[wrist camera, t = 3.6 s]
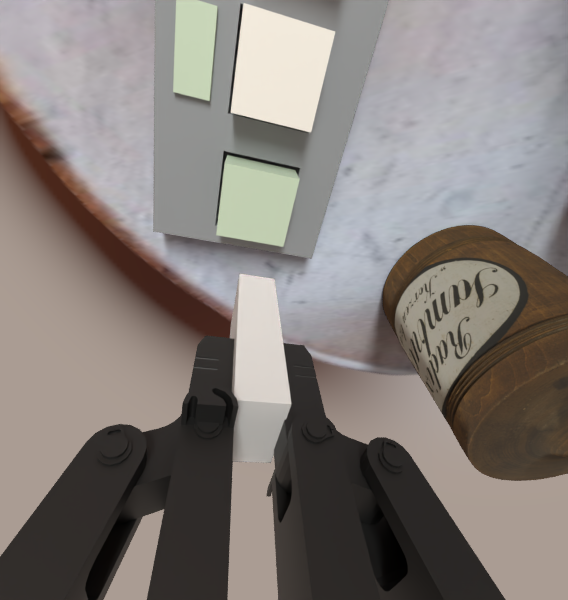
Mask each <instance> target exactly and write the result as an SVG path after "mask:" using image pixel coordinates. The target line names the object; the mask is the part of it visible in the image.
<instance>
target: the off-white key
mask: <svg viewBox="0 0 568 600" xmlns="http://www.w3.org/2000/svg"><path fill="white" fill-rule="evenodd" d="M334 36H335V31H332V30H329V29H325V28H322V27H319V26H316V25H313V24H309V23H306V22H303V21H300V20H297V19H294V18H290V17H287V16H284V15H281V14H278V13H274V12H271V11H268V10H265V9H262V8H259V7H255V6H252V5H249V4H246V3H244V4H243V12H242V20H241V29H240V37H239V46H238V54H237V63H236V71H235V80H234V88H233V97H232V105H231V113H234V114H238V115H242V116H246V117H250V118H254V119H258V120H262V121H266V122H270V123H274V124H278V125H283V126H287V127H291V128H295V129H299V130H303V131H307V132H311V131H312V127H313V122H314V118H315V114H316V110H317V106H318V102H319V98H320V93H321V89H322V85H323V81H324V77H325V73H326V69H327V65H328V60H329V56H330V52H331V48H332V44H333V40H334Z"/></svg>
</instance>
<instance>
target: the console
mask: <svg viewBox="0 0 568 600" xmlns="http://www.w3.org/2000/svg"><path fill="white" fill-rule="evenodd" d="M388 1H389V0H155V62H154V215H153V232H159V233H164V234H170V235H176V236H182V237H188V238H194V239H200V240H205V241H211V242H217V243H223V244H229V245H235V246H240V247H246V248H252V249H258V250H264V251H270V252H276V253H281V254H287V255H293V256H299V257H305V258H312V255H313V252H314V248H315V245H316V242H317V238H318V235H319V232H320V228H321V225H322V222H323V218H324V215H325V212H326V208H327V205H328V202H329V198H330V195H331V192H332V188H333V185H334V182H335V178H336V175H337V172H338V168H339V165H340V162H341V158H342V155H343V152H344V148H345V145H346V142H347V138H348V135H349V132H350V128H351V125H352V122H353V118H354V115H355V112H356V108H357V105H358V102H359V98H360V95H361V92H362V88H363V85H364V82H365V78H366V75H367V72H368V68H369V65H370V62H371V58H372V55H373V52H374V48H375V45H376V41H377V38H378V35H379V31H380V28H381V25H382V21H383V18H384V15H385V11H386V8H387V5H388ZM244 3H246V4H249V5H252V6H255V7H259V8H262V9H265V10H268V11H271V12H274V13H278V14H281V15H284V16H287V17H290V18H294V19H297V20H300V21H303V22H306V23H309V24H313V25H316V26H319V27H322V28H325V29H329V30H332V31H335V36H334V40H333V44H332V48H331V52H330V56H329V60H328V65H327V69H326V73H325V77H324V81H323V85H322V89H321V93H320V98H319V102H318V106H317V110H316V114H315V118H314V122H313V127H312V131H311V132H307V131H303V130H299V129H295V128H291V127H287V126H283V125H278V124H274V123H270V122H266V121H262V120H258V119H254V118H250V117H246V116H242V115H238V114H234V113H231V105H232V97H233V88H234V80H235V71H236V63H237V54H238V46H239V37H240V29H241V20H242V12H243V4H244ZM227 155H230V156H235V157H239V158H244V159H248V160H253V161H257V162H261V163H266V164H270V165H275V166H279V167H284V168H288V169H293V170H295V171H296V173H297V175H298V177H299V179H300V180H299V184H298V188H297V193H296V197H295V201H294V205H293V209H292V213H291V217H290V221H289V226H288V230H287V234H286V238H285V242H284V246H283V247H281V246H276V245H270V244H264V243H259V242H253V241H247V240H242V239H236V238H230V237H224V236H219V235H216V232H217V224H218V215H219V207H220V198H221V190H222V182H223V173H224V165H225V161H226V158H227Z"/></svg>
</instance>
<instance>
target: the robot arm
mask: <svg viewBox="0 0 568 600" xmlns="http://www.w3.org/2000/svg"><path fill="white" fill-rule="evenodd" d="M273 455H274V458H275V470H274V473H273V476H272V478H271V481H270V484H269V486H268V490H267V496H271V493H272V496H273V513H274V531H275V548H276V566H277V583H278V600H505V598H504V597H503V595H502V594H501V592H500V591H499V589H498V588H497V586H496V585H495V583H494V582H493V580H492V579H491V577H490V576H489V574H488V573H487V571H486V570H485V568H484V566H483V565H482V563H481V562H480V561H479V559H478V557H477V556H476V554H475V553H474V551H473V550H472V548H471V547H470V545H469V544H468V542H467V541H466V539H465V538H464V536H463V535H462V533H461V532H460V530H459V529H458V527H457V526H456V524H455V522H454V521H453V519H452V518H451V516H450V515H449V513H448V512H447V510H446V509H445V507H444V506H443V504H442V503H441V501H440V500H439V498H438V497H437V495H436V494H435V493H434V491H433V489H432V488H431V486H430V485H429V483H428V482H427V480H426V479H425V477H424V476H423V474H422V472H421V471H420V470H419V468H418V466H417V465H416V463H415V462H414V461H413V459H412V457H411V456H410V454H409V453H408V452H407V451H406V450H405V449H404V448H403V447H402V446H401V445H400V444H398V443H397V442H395V441H393V440H391V439H388V438H375V439H373V440H371V441H370V443H369V445H367V444H364V443H362V442H359V441H356V440H354V439H351V438H348V437H346V436H344V435H342V434H341V433H339V432H338V431H337V430H336V428H335V426H334V425H333V423H332V422H331V421H330V420H329V419H328V418H326V415H325V412H324V408H323V404H322V400H321V395H320V391H319V387H318V383H317V379H316V374H315V370H314V366H313V361H312V357H311V355H310V353H309V352H308V351H307V349H306V348H305V347H304V345H294V344H285V343H283V338H282V331H281V323H280V316H279V309H278V301H277V294H276V287H275V279H272V278H265V277H258V276H252V275H245V274H239V280H238V286H237V292H236V298H235V304H234V309H233V315H232V321H231V331H230V338H223V337H214V336H205V337H204V338H203V340H202V341H201V342H200V343H199V344H198V347H197V352H196V357H195V362H194V368H193V372H192V378H191V383H190V388H189V393H188V394H187V395H186V397H185V399H184V401H183V406H182V414H181V416H180V417H179V418H178V419H177V420H175V421H174V422H173V423H171V424H169V425H167V426H165V427H162V428H159V429H155V430H150V431H146V432H141V431H140V430H139V429H138V428H135V427H133V426H131V425H123V424H118V425H114V426H109V427H106V428H104V429H102V430H100V431H99V432H97V433H95V434H94V435H93V436H92V437H91V438H90V439H89V440H88V441H87V442H86V443H85V445H84V446H83V447H82V449H81V450H80V451H79V453H78V454H77V455H76V457H75V458H74V459H73V461H72V462H71V463H70V465H69V466H68V467H67V469H66V470H65V471H64V473H63V474H62V475H61V477H60V478H59V479H58V481H57V482H56V483H55V485H54V486H53V487H52V489H51V490H50V491H49V493H48V494H47V495H46V497H45V498H44V499H43V501H42V502H41V503H40V505H39V506H38V507H37V509H36V510H35V511H34V513H33V514H32V515H31V516H30V518H29V519H28V520H27V522H26V523H25V524H24V526H23V527H22V529H21V530H20V531H19V532H18V534H17V535H16V537H15V538H14V539H13V541H12V542H11V543H10V544H9V546H8V547H7V549H6V550H5V551H4V552H3V554H2V555H1V556H0V600H103V599H104V597H105V595H106V593H107V591H108V589H109V587H110V584H111V582H112V580H113V578H114V576H115V574H116V571H117V569H118V568H119V565H120V563H121V561H122V559H123V557H124V555H125V553H126V551H127V549H128V547H129V545H130V542H131V540H132V538H133V536H134V534H135V532H136V530H137V528H138V525H139V523H140V521H141V519H142V517H143V516H145V515H148V514H151V513H154V512H157V511H160V510H162V509H164V515H163V519H162V525H161V530H160V535H159V540H158V545H157V550H156V555H155V561H154V566H153V571H152V576H151V581H150V586H149V591H148V597H147V600H227V594H228V593H227V592H228V567H229V541H230V513H231V488H232V463H233V462H261V463H271V461H272V458H273Z"/></svg>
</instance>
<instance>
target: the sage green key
mask: <svg viewBox="0 0 568 600" xmlns="http://www.w3.org/2000/svg"><path fill="white" fill-rule="evenodd" d="M299 180H300V179H299V177H298V175H297V173H296V171H295V170H293V169H288V168H284V167H279V166H275V165H270V164H266V163H261V162H257V161H253V160H248V159H244V158H239V157H235V156H230V155H227V158H226V161H225V165H224V173H223V182H222V190H221V198H220V207H219V215H218V224H217V232H216V235H219V236H224V237H230V238H236V239H242V240H247V241H253V242H259V243H264V244H270V245H276V246H281V247H283V246H284V242H285V238H286V234H287V230H288V226H289V221H290V217H291V213H292V209H293V205H294V201H295V197H296V193H297V188H298V184H299Z"/></svg>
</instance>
